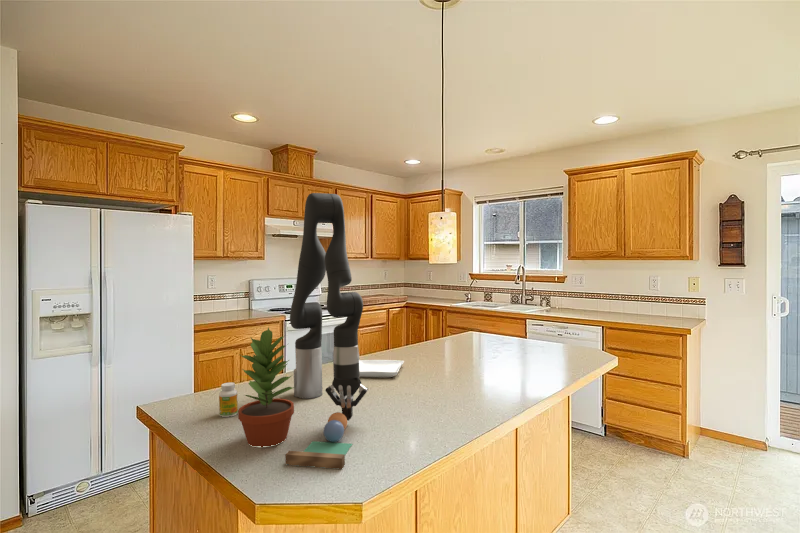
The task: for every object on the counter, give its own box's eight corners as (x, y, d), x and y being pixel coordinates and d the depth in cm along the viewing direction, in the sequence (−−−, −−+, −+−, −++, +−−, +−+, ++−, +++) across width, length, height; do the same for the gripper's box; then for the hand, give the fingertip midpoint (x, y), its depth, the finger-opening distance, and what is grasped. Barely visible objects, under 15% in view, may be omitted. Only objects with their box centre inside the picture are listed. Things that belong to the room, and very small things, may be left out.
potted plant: (240, 457, 105) (237, 336, 105) (237, 434, 119) (234, 327, 119) (301, 445, 111) (298, 331, 111) (291, 425, 125) (289, 323, 125)
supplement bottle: (220, 418, 131) (219, 387, 131) (218, 413, 136) (218, 383, 136) (238, 415, 134) (238, 384, 134) (236, 410, 139) (236, 380, 138)
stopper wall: (285, 464, 101) (285, 454, 101) (289, 460, 103) (289, 450, 103) (342, 469, 98) (341, 458, 98) (344, 465, 100) (344, 454, 100)
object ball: (320, 445, 112) (319, 424, 111) (328, 435, 117) (327, 416, 117) (340, 446, 111) (339, 426, 110) (347, 436, 116) (346, 417, 116)
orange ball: (334, 413, 124) (332, 434, 121) (325, 410, 119) (322, 431, 117) (351, 414, 122) (349, 434, 119) (343, 410, 117) (340, 432, 115)
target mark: (295, 461, 103) (295, 460, 103) (312, 441, 113) (312, 441, 113) (338, 464, 101) (338, 463, 101) (352, 444, 111) (352, 443, 111)
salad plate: (358, 366, 195) (358, 358, 194) (404, 367, 192) (404, 359, 192) (346, 379, 174) (346, 371, 174) (397, 380, 171) (397, 372, 171)
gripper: (320, 363, 122) (321, 423, 122) (364, 364, 120) (366, 425, 120) (329, 357, 129) (330, 413, 130) (371, 358, 127) (372, 415, 127)
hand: (347, 419), depth 125 cm, fingers closed
